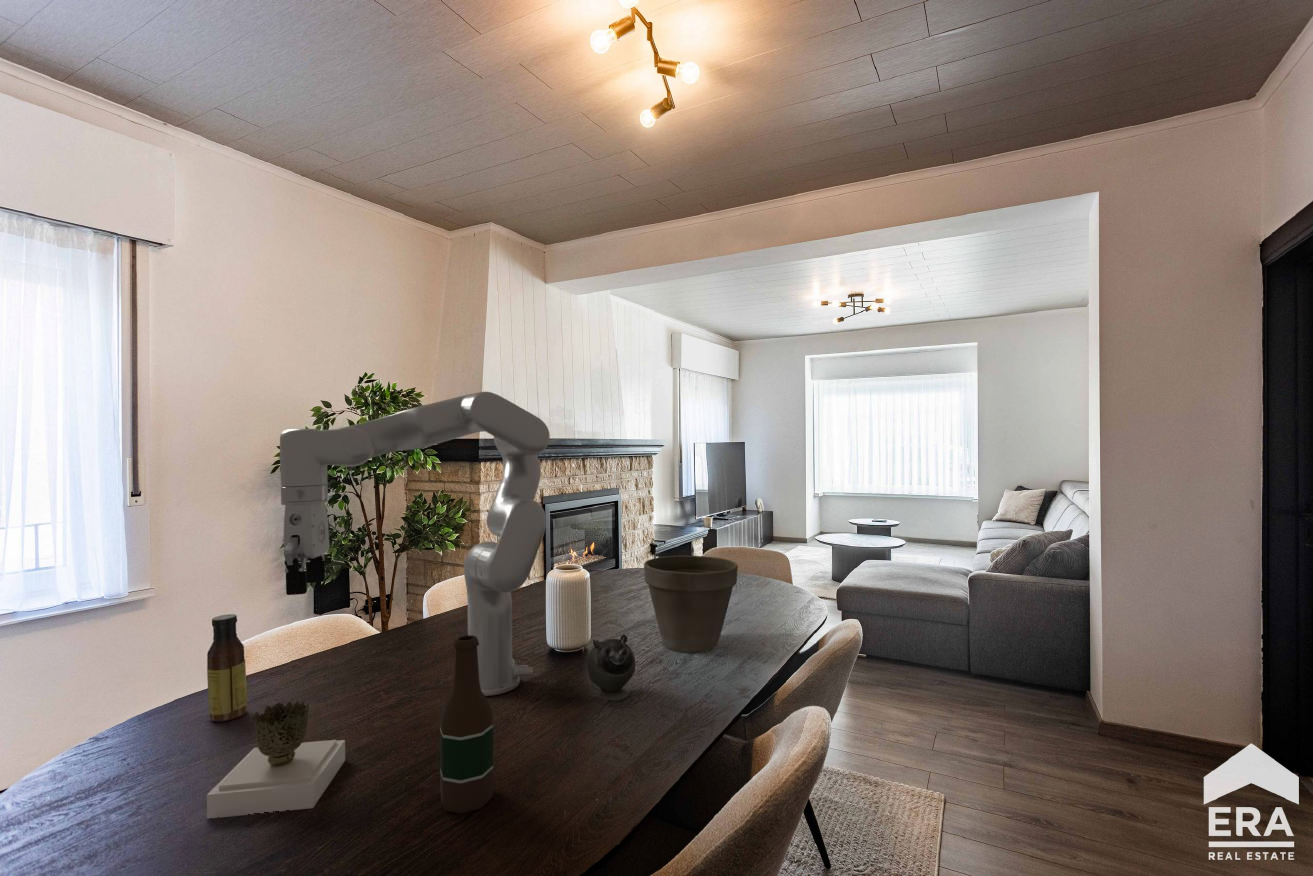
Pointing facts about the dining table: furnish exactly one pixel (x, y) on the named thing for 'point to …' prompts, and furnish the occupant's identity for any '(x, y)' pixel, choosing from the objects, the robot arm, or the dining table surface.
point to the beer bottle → (466, 736)
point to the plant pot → (690, 599)
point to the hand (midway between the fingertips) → (306, 587)
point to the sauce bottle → (226, 671)
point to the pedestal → (277, 781)
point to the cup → (281, 731)
